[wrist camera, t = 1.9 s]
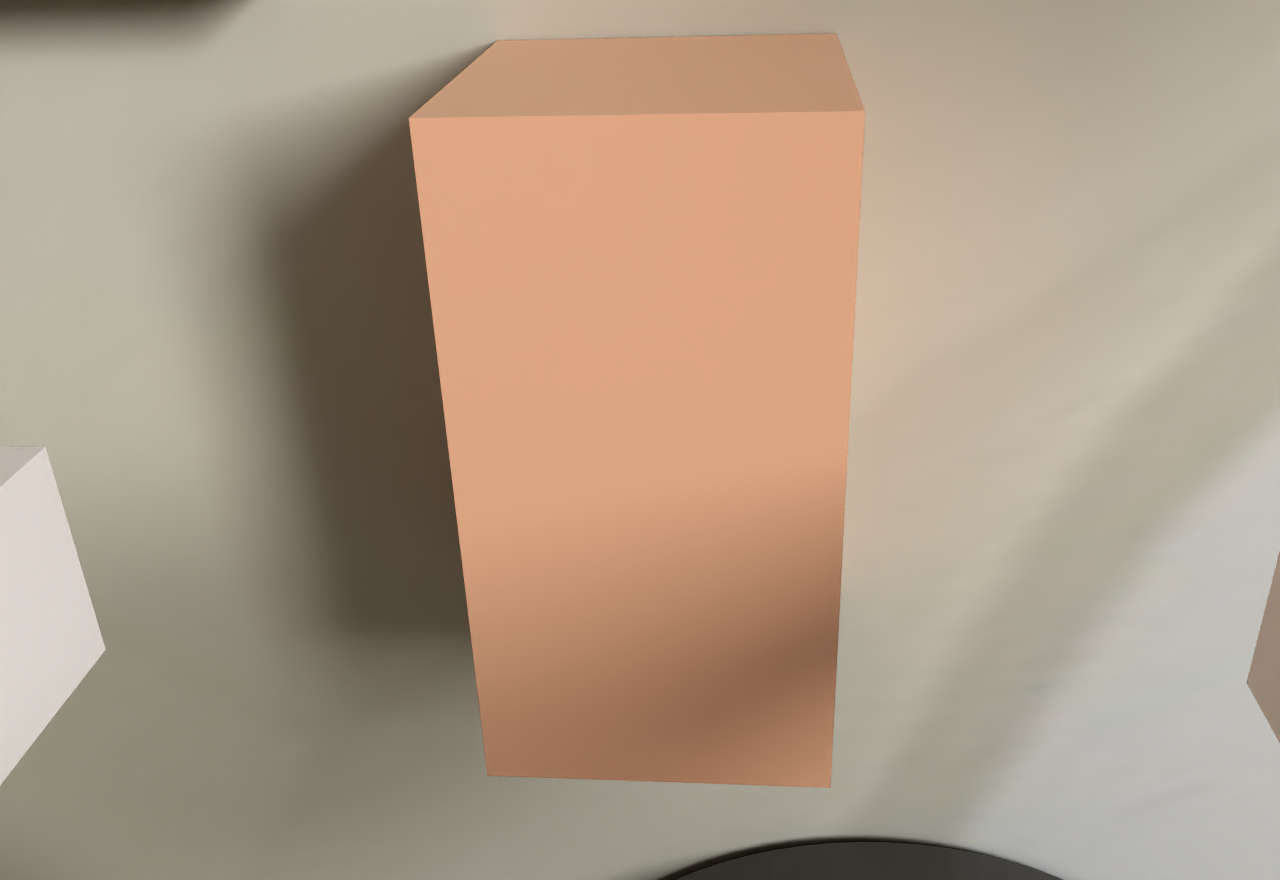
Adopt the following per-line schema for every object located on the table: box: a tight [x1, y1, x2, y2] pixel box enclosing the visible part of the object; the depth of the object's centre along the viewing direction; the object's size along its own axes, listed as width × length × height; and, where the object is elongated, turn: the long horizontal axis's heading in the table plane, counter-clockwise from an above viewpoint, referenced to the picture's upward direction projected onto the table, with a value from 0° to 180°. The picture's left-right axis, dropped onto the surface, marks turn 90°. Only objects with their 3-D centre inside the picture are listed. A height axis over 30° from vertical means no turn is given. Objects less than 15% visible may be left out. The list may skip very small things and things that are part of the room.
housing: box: [409, 33, 865, 788], centre depth 17 cm, size 9×5×5 cm, turn 2°
